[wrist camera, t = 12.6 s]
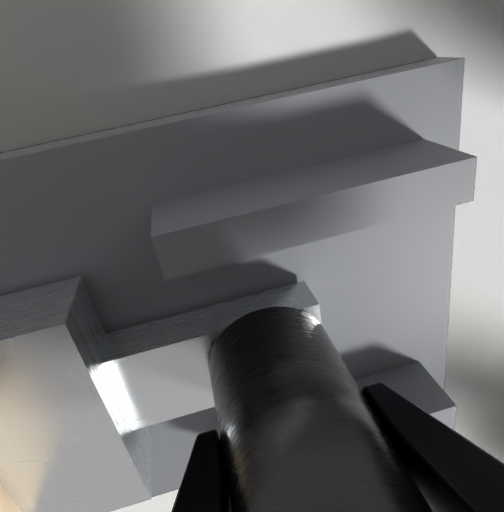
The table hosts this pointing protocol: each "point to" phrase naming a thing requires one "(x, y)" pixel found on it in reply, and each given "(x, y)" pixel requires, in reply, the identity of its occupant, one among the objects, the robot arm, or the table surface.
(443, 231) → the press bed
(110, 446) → the ram
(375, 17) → the table surface
